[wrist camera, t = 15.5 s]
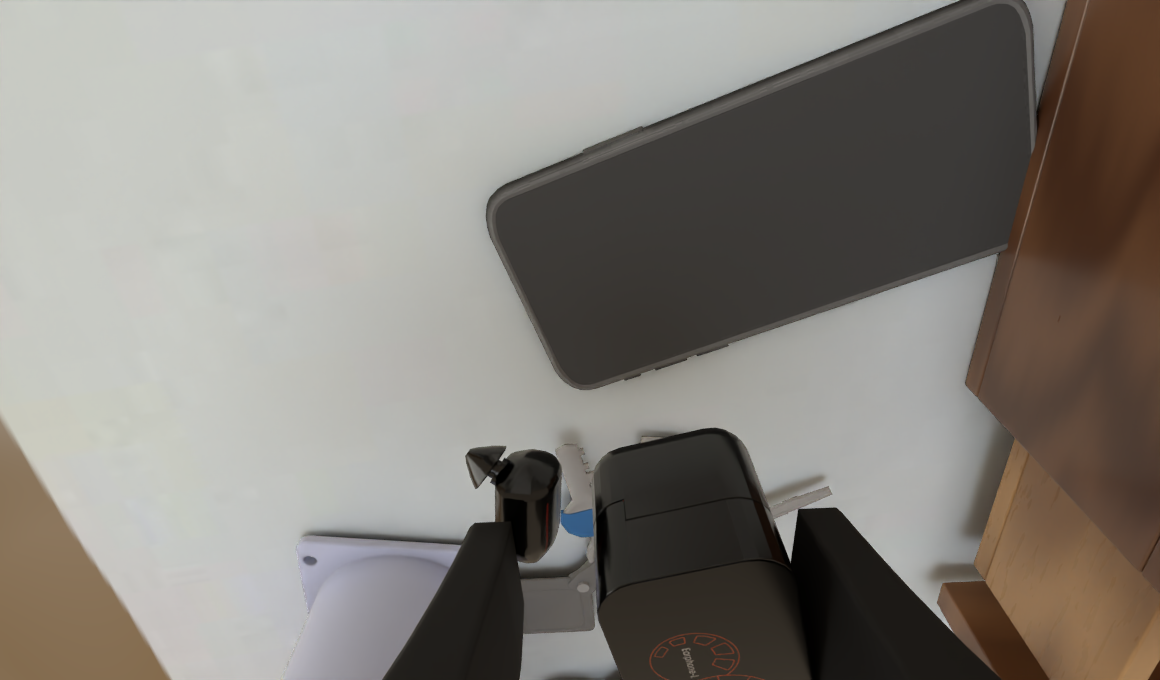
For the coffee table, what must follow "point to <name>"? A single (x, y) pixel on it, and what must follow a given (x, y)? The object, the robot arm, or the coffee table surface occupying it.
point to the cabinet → (1088, 280)
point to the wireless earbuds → (670, 555)
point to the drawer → (1052, 590)
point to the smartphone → (778, 197)
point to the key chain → (589, 554)
